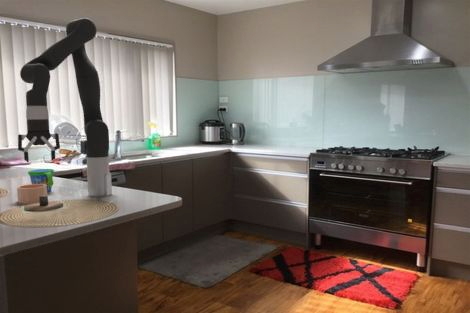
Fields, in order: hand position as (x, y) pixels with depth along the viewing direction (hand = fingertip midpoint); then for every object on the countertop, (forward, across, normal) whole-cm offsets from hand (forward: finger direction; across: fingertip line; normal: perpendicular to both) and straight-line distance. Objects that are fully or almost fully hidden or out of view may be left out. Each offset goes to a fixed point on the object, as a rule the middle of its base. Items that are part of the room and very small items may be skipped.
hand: (40, 161), depth 157 cm
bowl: (+18, +3, -15) cm, 24 cm away
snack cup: (+18, -1, -37) cm, 41 cm away
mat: (+18, 0, 0) cm, 18 cm away
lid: (+18, 0, 0) cm, 18 cm away
